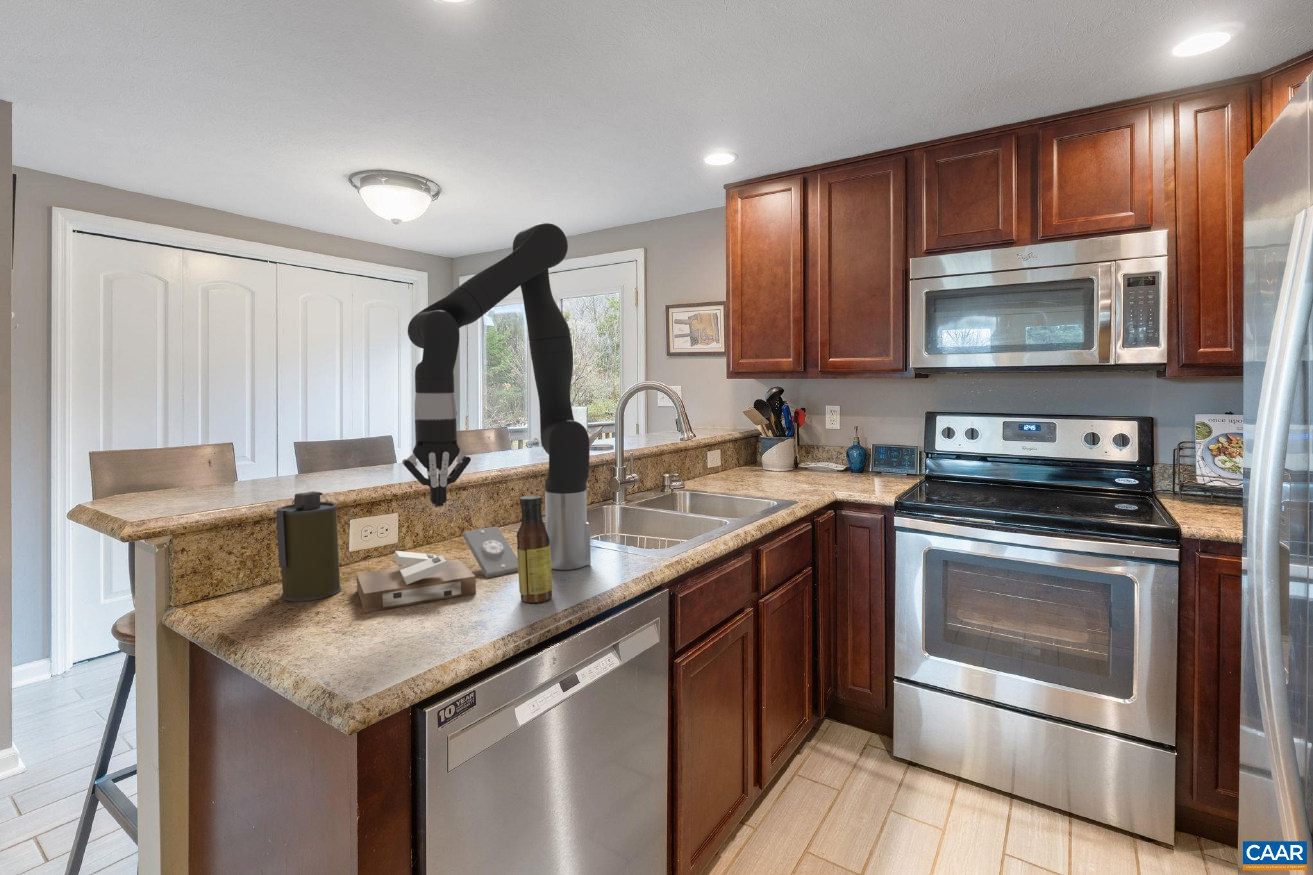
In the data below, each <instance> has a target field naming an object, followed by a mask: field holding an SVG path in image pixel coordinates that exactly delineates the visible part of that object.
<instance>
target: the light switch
mask: <svg viewBox="0 0 1313 875" xmlns="http://www.w3.org/2000/svg"><path fill="white" fill-rule="evenodd" d="M461 537H463V539H464V541H465V543H466V544H467V546H468V548H469V550H470V551H471V553H472V555H473V557H474V559H475V561H476V562H477V564H478V566H479V568H480V569H481V571H482V573H483V575H484V576H485V578H486V579H488V578H493V577H497V576H502V575H508V574H511V573H516V572H517V573H518V557H517V555H516V554H515V551H513V549H512V547H511V546H510V545H511V544H509V542H508V541H507V539H506V538H505V536H504V535H503V533H502V531H501V529H500V527H499V526H493V527H491V526H490V527H484V528H478V529H472V530H466V531H463V532H462V536H461Z"/></svg>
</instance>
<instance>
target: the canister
mask: <svg viewBox="0 0 1313 875" xmlns="http://www.w3.org/2000/svg"><path fill="white" fill-rule="evenodd" d="M322 495H324V493H323V492H320V491H307V492H297V493H296V494H294V499H292V500H293V501H292V502H291V504H286V505H284V506H281V507H278V508H277V509H276V510H275V514H276V515H275V516H276V531H277V532H276V534H277V551H278V567H279V568H280V569H281V583H282V584H281V585H282V594H281V599H282V600H284V601H286V602H294V603H300V602H312V601H319V600H321V599H325V598H329V597H333V596H335V595H337V594H338V593H340V591H342V586H341V576H340V574H341V572H340V557H339V555H340V553H339V551H340V550H339V534H338V533H339V532H338V512H337V508H338V505H339V504H337V503H336V502H332V501H321V496H322Z"/></svg>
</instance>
